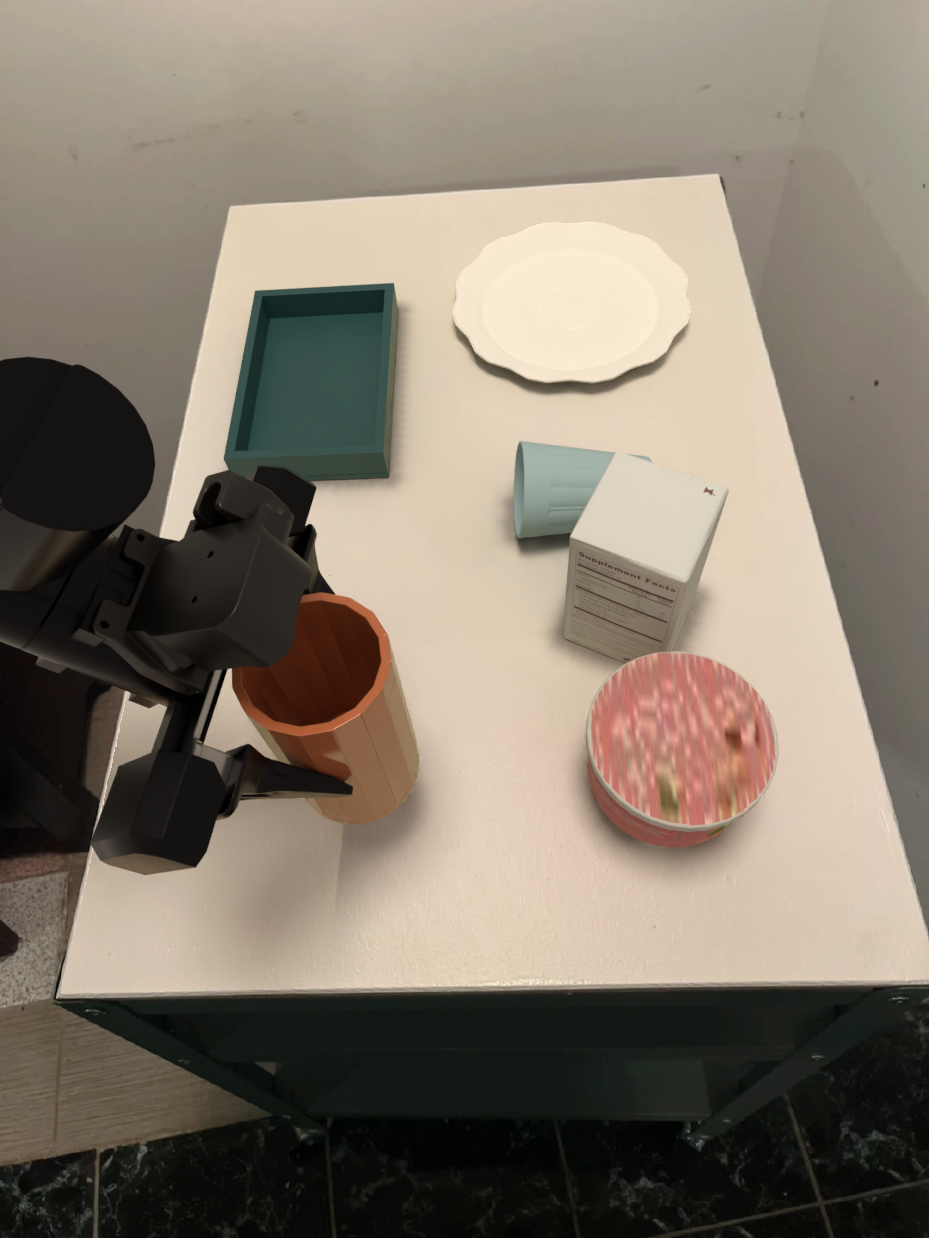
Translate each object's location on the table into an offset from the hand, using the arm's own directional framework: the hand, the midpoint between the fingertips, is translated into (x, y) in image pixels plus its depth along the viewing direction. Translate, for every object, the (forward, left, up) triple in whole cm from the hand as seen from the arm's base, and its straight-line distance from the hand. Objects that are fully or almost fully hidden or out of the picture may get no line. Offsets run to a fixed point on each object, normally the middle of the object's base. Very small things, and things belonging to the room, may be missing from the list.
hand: (364, 722), depth 42 cm
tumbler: (-1, 0, -7) cm, 7 cm away
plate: (+21, +42, -14) cm, 49 cm away
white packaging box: (+18, +10, -14) cm, 25 cm away
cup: (+21, +23, -10) cm, 33 cm away
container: (+17, -2, -14) cm, 22 cm away
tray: (-2, +37, -13) cm, 40 cm away
